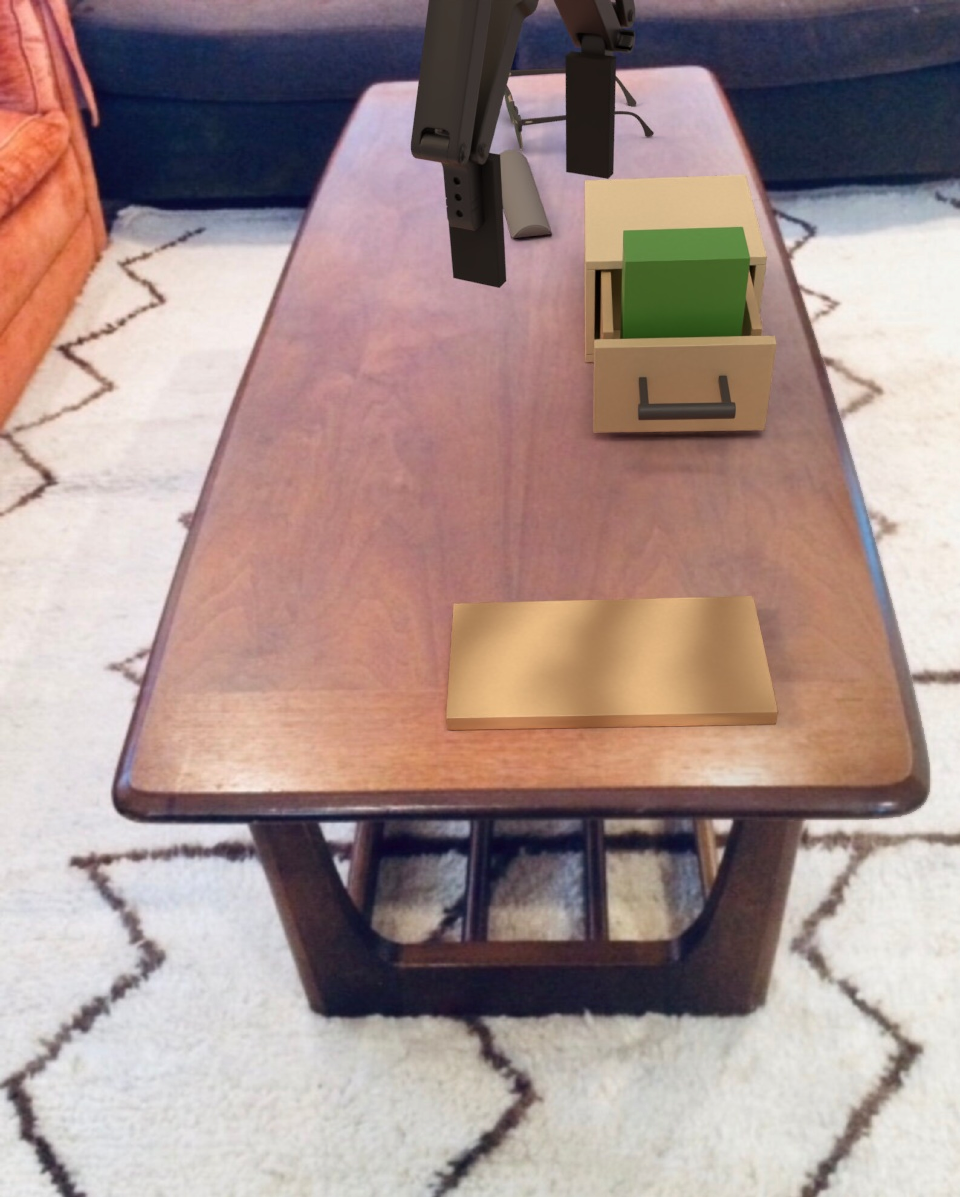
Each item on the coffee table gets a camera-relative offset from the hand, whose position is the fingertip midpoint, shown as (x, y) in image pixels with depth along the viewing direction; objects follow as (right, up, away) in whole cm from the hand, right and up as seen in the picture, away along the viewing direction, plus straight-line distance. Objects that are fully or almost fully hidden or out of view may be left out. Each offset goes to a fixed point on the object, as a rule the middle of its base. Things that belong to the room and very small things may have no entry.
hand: (538, 223), depth 60 cm
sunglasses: (+8, +37, +73) cm, 83 cm away
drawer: (+13, -4, +30) cm, 33 cm away
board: (+5, -25, +10) cm, 28 cm away
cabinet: (+14, +6, +41) cm, 43 cm away
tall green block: (+13, -3, +29) cm, 32 cm away
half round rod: (+1, +23, +60) cm, 64 cm away
